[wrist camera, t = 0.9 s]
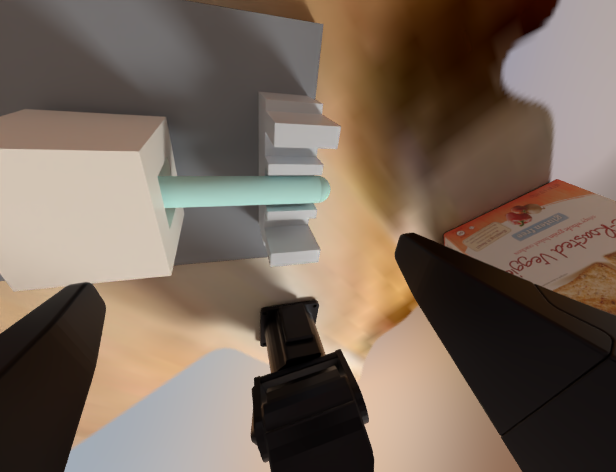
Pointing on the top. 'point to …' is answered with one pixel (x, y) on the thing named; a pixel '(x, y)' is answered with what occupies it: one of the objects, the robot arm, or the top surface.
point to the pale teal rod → (241, 190)
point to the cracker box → (550, 242)
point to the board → (186, 100)
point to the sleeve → (84, 198)
